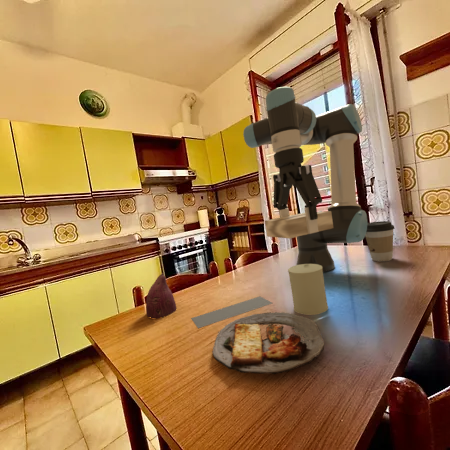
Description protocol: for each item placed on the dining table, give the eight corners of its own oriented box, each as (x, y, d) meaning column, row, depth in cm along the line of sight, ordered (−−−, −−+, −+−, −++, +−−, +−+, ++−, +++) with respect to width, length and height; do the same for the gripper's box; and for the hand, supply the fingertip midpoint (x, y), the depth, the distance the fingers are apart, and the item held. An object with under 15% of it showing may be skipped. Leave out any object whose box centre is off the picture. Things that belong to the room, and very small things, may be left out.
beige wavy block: (267, 236, 73) (264, 220, 72) (307, 227, 78) (305, 212, 77) (289, 238, 63) (286, 220, 63) (333, 228, 68) (331, 211, 68)
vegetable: (181, 315, 91) (186, 272, 90) (165, 325, 81) (170, 278, 80) (156, 308, 94) (160, 267, 94) (137, 317, 84) (142, 272, 84)
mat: (191, 319, 78) (191, 318, 78) (260, 297, 87) (260, 296, 86) (198, 329, 70) (198, 328, 70) (273, 304, 79) (272, 303, 79)
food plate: (337, 379, 43) (334, 359, 43) (204, 387, 47) (201, 368, 47) (311, 317, 68) (309, 304, 68) (225, 325, 72) (223, 313, 72)
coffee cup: (360, 258, 112) (356, 224, 111) (386, 254, 112) (382, 220, 111) (376, 264, 100) (371, 226, 99) (405, 259, 100) (400, 221, 99)
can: (329, 301, 74) (323, 261, 73) (327, 316, 66) (321, 270, 65) (296, 301, 78) (290, 262, 77) (291, 315, 70) (284, 272, 69)
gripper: (254, 161, 78) (265, 233, 80) (304, 138, 57) (317, 236, 58) (275, 159, 81) (286, 228, 82) (330, 136, 59) (343, 230, 61)
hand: (299, 231), depth 70 cm, fingers closed on beige wavy block, 10 cm apart
